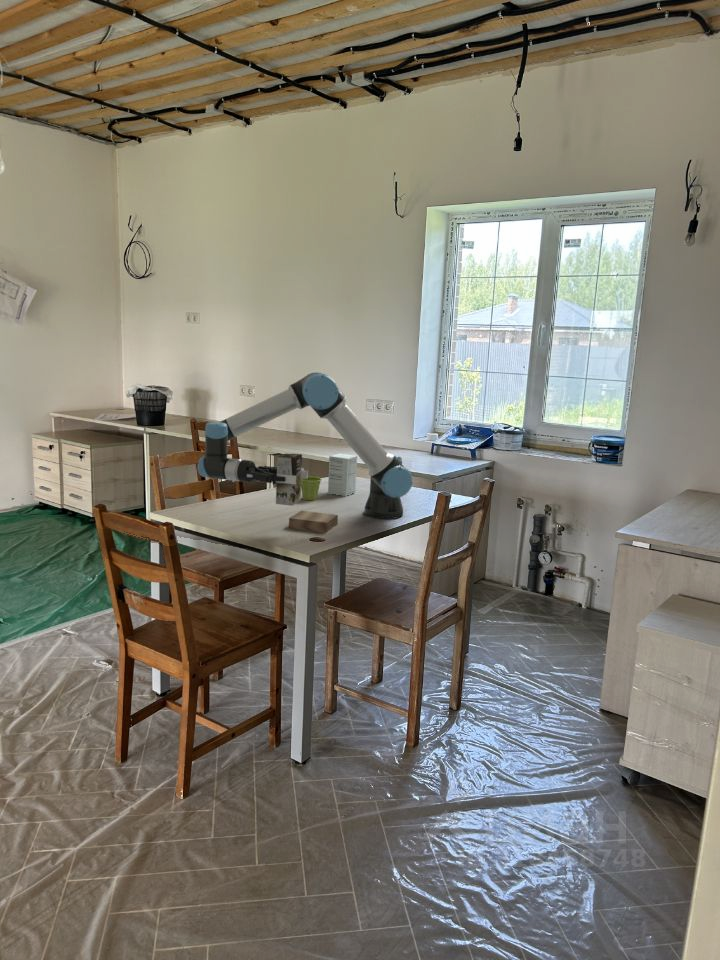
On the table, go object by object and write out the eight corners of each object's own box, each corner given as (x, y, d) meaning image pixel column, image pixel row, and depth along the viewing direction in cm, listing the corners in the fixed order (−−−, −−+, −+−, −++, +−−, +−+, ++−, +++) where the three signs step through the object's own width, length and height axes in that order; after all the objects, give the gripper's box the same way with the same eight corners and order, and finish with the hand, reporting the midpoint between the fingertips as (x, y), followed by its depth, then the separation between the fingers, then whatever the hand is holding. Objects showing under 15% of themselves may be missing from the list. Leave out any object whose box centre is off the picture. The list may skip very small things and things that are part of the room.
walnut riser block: (337, 525, 243) (337, 514, 242) (326, 533, 232) (327, 522, 231) (301, 521, 247) (301, 510, 246) (288, 529, 235) (289, 518, 234)
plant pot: (310, 502, 274) (311, 481, 273) (293, 498, 280) (294, 478, 278) (325, 499, 282) (326, 479, 280) (308, 495, 287) (309, 475, 286)
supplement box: (337, 490, 300) (339, 453, 297) (355, 493, 297) (357, 455, 293) (327, 494, 292) (328, 455, 289) (346, 497, 288) (347, 458, 285)
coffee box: (293, 506, 222) (295, 458, 219) (275, 504, 223) (276, 456, 220) (301, 500, 231) (302, 453, 228) (283, 498, 232) (284, 452, 229)
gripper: (255, 476, 242) (313, 482, 235) (225, 487, 221) (287, 494, 214) (256, 455, 240) (314, 461, 233) (225, 464, 219) (288, 471, 213)
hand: (301, 477), depth 224 cm, fingers closed on coffee box, 9 cm apart
